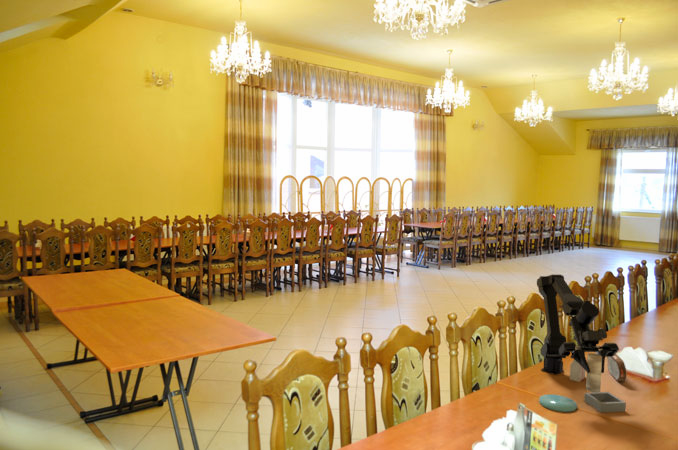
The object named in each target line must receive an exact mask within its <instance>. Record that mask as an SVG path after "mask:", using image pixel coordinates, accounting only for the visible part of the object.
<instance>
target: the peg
mask: <svg viewBox="0 0 678 450" xmlns="http://www.w3.org/2000/svg"><path fill="white" fill-rule="evenodd" d="M586 361H587V363H588V366H589V370H590V372H589V373H587V372H586V379H585V380H586V382H585V383H586V384H585V389H586V390H587V391H588V392H589V393H593V392H601V385H602V373H601V369H602V356H601V355H598V354H596V353H593V352H590V353H588V354H587V357H586Z"/></svg>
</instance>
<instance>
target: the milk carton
mask: <svg viewBox="0 0 678 450" xmlns="http://www.w3.org/2000/svg"><path fill="white" fill-rule="evenodd" d="M585 378H586V370H585V369H584V368H583V367H582V366H581V365H580V364H579V363H578V362H577V361H576V360H574V359H573V360H572V362H571V363H570V367H569V380H570V381H574V382H577V383H581V382H582V381H583V380H584V379H585Z"/></svg>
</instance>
